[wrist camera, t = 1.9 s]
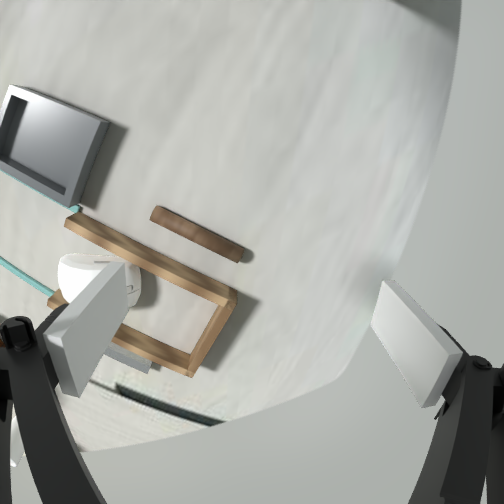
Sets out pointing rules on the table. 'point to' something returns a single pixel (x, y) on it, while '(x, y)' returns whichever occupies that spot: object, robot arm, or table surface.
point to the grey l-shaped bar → (128, 357)
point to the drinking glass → (15, 444)
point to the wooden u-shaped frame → (169, 272)
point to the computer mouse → (94, 274)
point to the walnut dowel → (197, 234)
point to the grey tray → (48, 143)
